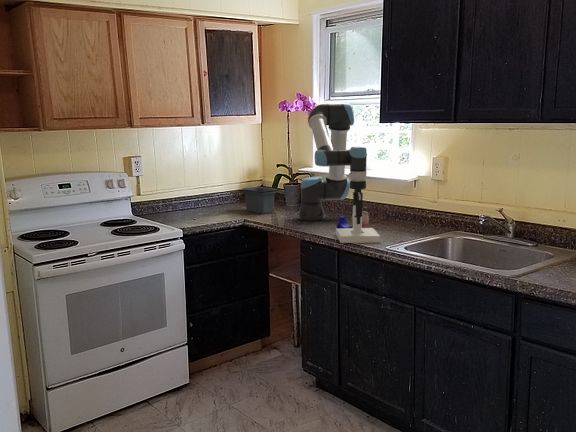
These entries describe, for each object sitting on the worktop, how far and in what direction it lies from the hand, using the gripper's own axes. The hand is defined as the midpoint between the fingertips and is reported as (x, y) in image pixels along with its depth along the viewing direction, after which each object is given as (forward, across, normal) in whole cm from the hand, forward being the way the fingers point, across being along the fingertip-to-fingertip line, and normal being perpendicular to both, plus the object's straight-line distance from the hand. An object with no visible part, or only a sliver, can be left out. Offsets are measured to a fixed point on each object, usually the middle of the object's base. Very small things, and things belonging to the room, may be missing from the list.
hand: (357, 229), depth 261 cm
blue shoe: (+5, -20, -1) cm, 21 cm away
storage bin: (+5, -77, -47) cm, 90 cm away
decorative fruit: (+4, -23, +5) cm, 24 cm away
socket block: (+4, 0, 0) cm, 4 cm away
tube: (+4, 0, 0) cm, 4 cm away
